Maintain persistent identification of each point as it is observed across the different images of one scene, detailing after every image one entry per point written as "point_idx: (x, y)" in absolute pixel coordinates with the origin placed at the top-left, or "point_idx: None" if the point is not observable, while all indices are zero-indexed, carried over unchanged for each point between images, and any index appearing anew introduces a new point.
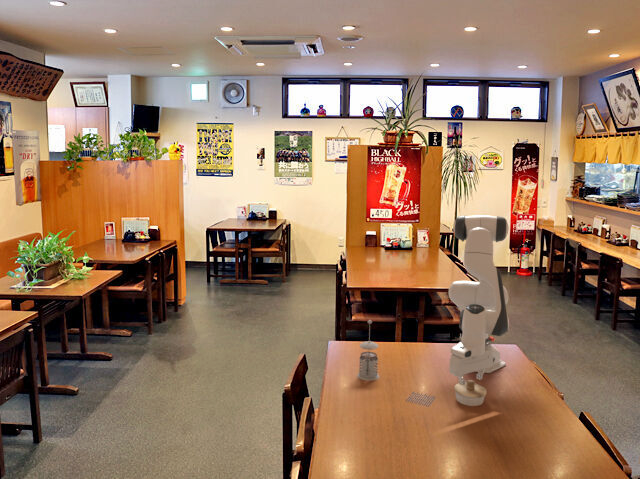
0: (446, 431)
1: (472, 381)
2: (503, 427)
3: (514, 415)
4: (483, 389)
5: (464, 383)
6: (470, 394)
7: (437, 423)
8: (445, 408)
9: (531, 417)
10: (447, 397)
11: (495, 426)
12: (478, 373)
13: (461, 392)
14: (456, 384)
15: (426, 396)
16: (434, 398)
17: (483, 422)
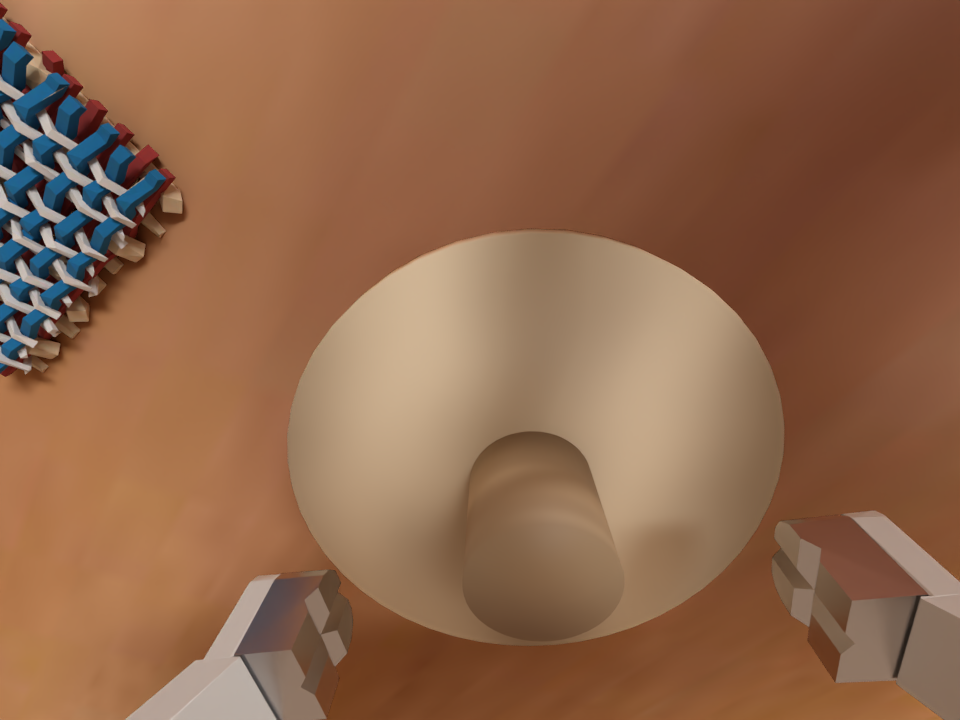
0: (98, 648)
1: (574, 595)
2: (499, 714)
3: (706, 644)
4: (696, 552)
5: (334, 649)
6: (416, 600)
7: (61, 561)
8: (218, 389)
9: (789, 692)
10: (360, 164)
11: (458, 694)
12: (938, 615)
13: (329, 528)
14: (409, 269)
15: (13, 127)
16: (116, 220)
17: (413, 644)
